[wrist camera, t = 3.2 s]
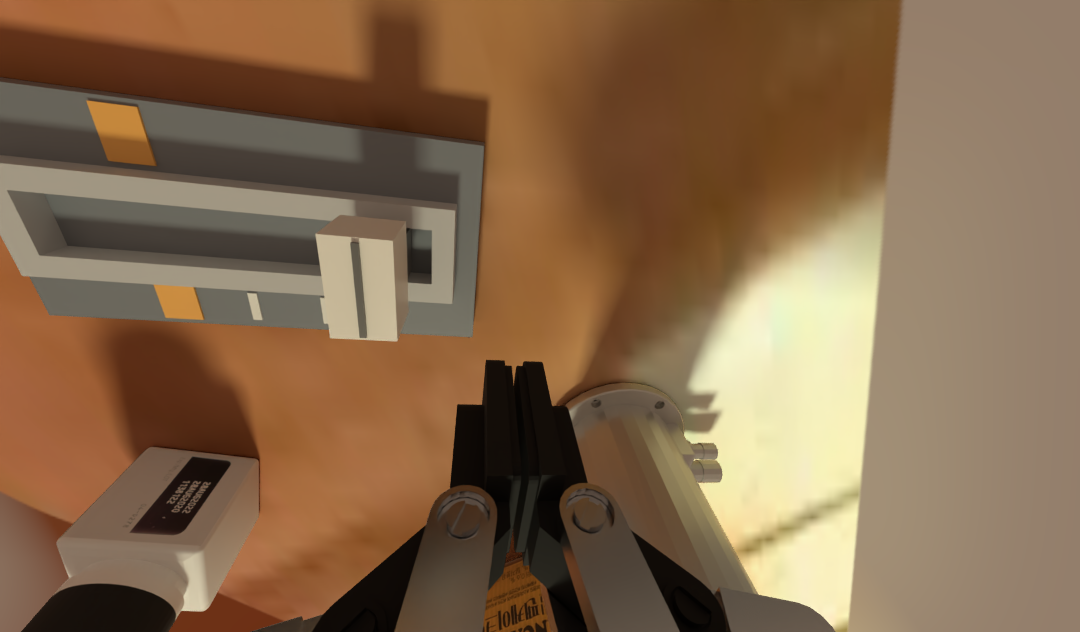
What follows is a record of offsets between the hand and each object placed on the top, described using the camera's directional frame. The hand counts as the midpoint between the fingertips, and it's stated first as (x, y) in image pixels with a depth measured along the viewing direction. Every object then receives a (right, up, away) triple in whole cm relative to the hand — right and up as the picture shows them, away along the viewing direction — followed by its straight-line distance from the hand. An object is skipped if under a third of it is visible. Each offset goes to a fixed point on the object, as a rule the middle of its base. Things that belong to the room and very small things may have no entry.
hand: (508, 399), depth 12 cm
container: (-27, -11, +21) cm, 36 cm away
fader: (-8, +7, +11) cm, 15 cm away
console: (-15, +8, +12) cm, 20 cm away
